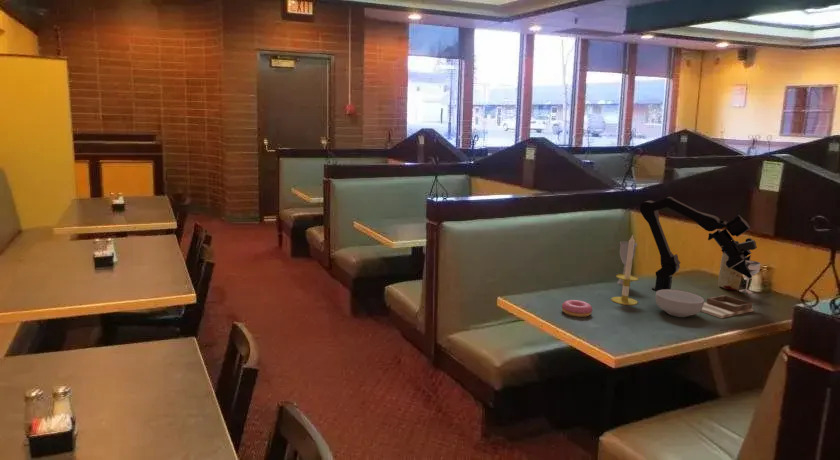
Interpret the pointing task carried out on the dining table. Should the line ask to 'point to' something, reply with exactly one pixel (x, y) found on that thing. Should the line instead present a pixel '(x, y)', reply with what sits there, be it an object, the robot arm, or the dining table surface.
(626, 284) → the candle
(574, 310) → the doughnut
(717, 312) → the brown wooden tray
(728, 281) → the food model
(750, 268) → the wineglass
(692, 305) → the cereal bowl
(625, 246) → the chalice
